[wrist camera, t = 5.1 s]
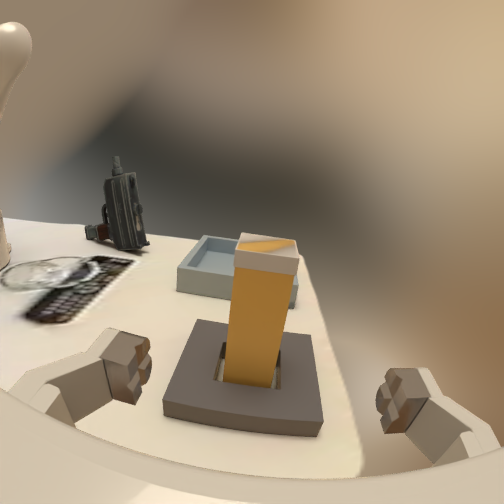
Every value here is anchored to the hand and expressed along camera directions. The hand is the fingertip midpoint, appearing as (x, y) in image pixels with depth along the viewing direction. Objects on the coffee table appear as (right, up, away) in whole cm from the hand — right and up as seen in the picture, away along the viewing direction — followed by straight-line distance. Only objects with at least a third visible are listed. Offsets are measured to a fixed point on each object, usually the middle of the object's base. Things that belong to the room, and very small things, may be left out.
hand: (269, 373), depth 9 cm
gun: (-27, +5, +44) cm, 52 cm away
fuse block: (-1, -8, +16) cm, 18 cm away
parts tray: (-2, 0, +38) cm, 38 cm away
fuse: (-1, -8, +16) cm, 18 cm away
